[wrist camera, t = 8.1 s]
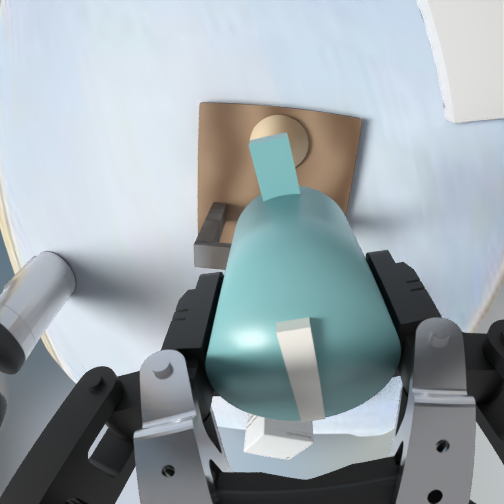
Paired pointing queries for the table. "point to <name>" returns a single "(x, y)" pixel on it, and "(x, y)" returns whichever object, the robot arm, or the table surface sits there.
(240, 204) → the board with gray uprights
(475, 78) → the food packaging
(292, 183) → the teal rounded body
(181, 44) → the table surface
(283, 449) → the supplement box
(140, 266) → the table surface
